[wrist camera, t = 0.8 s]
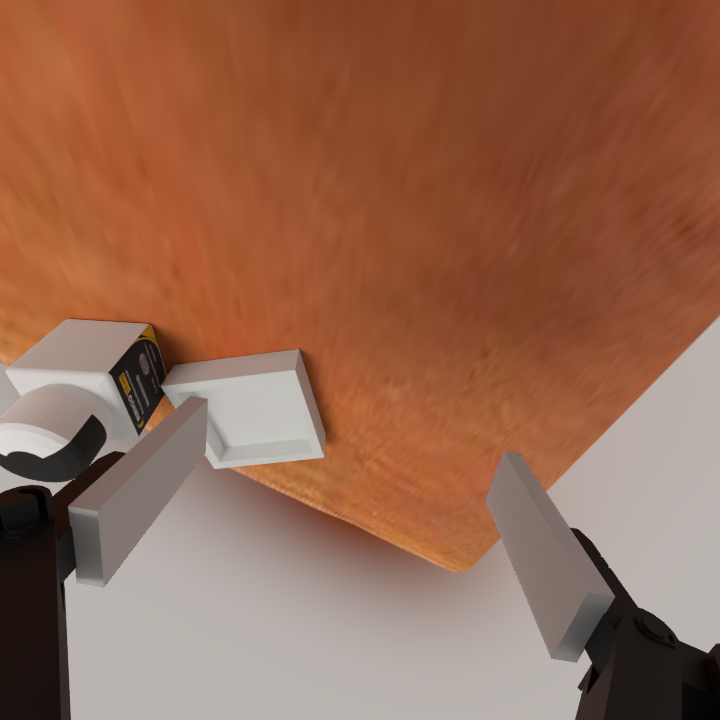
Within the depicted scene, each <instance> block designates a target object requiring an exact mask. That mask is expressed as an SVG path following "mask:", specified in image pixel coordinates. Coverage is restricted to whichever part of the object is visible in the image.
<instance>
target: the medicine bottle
mask: <svg viewBox="0 0 720 720" xmlns="http://www.w3.org/2000/svg"><path fill="white" fill-rule="evenodd" d="M5 372H6V375H7V376H8V378H9V379H10V380H11V382H12V383H13V385H14V386H15V388H16V389H17V391H18V392H19V394H20V395H21V398H20V399H19V400H18V401H17V402H16V403H15V404H13V405H12V406H11V407H10V408H9V409H8V410H7V411H6V412H5V413H4V414H3V415H2V416H1V417H0V466H2V467H3V468H5V469H6V470H8V471H10V472H12V473H14V474H17V475H19V476H21V477H25V478H28V479H32V480H38V481H43V482H65V481H69V480H72V479H75V478H76V477H77V476H78V475H79V474H80V473H82V472H83V471H85V470H86V468H88V467H89V465H90V464H91V462H92V461H93V460H94V458H95V457H96V455H97V454H98V452H99V451H100V449H101V448H102V446H103V445H104V443H105V442H106V441H107V439H119V440H136V439H137V438H138V437H139V435H140V434H141V432H142V430H143V429H144V427H145V425H146V424H147V422H148V420H149V419H150V417H151V415H152V414H153V412H154V410H155V409H156V407H157V406H158V404H159V402H160V401H161V399H162V397H163V396H164V394H165V392H164V391H163V389H162V388H161V385H162V383H163V382H164V380H165V379H166V377H167V376H168V375H167V372H166V369H165V366H164V363H163V360H162V356H161V353H160V350H159V347H158V344H157V341H156V338H155V335H154V331H153V328H152V326H151V325H150V324H145V323H129V322H113V321H96V320H80V319H66V320H65V321H63V322H62V323H61V324H60V325H59V326H57V327H56V328H55V329H54V330H53V331H51V332H50V333H49V334H48V335H46V336H45V337H44V338H43V339H42V340H40V341H39V342H38V343H37V344H36V345H34V346H33V347H32V348H31V349H30V350H28V351H27V352H26V353H25V354H24V355H22V356H21V357H20V358H19V359H17V360H16V361H15V362H14V363H13V364H11V365H10V366H9V367H8V368H7V369H6V371H5Z"/></svg>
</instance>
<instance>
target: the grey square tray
mask: <svg viewBox="0 0 720 720" xmlns="http://www.w3.org/2000/svg"><path fill="white" fill-rule="evenodd" d="M161 388H162V389H163V391H164V392H165V394H166V396H167V397H168V399H169V400H170V402H171V403H172V405H173V406H174V408H175V409H176V408H177V407H178V406H180V405H181V404H182V403H183V402H184V401H185V400H186V399H187V398H188V397H190V396H194V397H200V398H206V399H208V412H207V437H206V453H205V455H206V457H207V458H208V460H209V461H210V463H211V464H212V466H213V467H214V469H218V468H228V467H237V466H247V465H257V464H267V463H276V462H286V461H296V460H305V459H315V458H324V454H325V442H326V434H325V430H324V427H323V424H322V421H321V417H320V414H319V411H318V408H317V405H316V401H315V398H314V395H313V392H312V388H311V385H310V382H309V379H308V376H307V372H306V369H305V366H304V363H303V359H302V356H301V353H300V350H299V349H295V350H287V351H279V352H272V353H264V354H256V355H248V356H240V357H232V358H225V359H217V360H209V361H201V362H193V363H186V364H178V365H174V366H173V368H172V369H171V371H170V372H169V374H168V376H167V377H166V379H165V380H164V382H163V383H162V385H161Z"/></svg>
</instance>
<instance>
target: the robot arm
mask: <svg viewBox="0 0 720 720" xmlns="http://www.w3.org/2000/svg"><path fill="white" fill-rule="evenodd" d="M207 412H208V399H206V398H200V397H194V396H190V397H188V398H187V399H186V400H185V401H184V402H183V403H182V404H181V405H180V406H178V407H177V408H176V409H175V410H174V411H173V412H172V413H171V414H170V415H168V416H167V417H166V418H165V419H164V420H163V421H162V422H161V423H160V424H158V425H157V426H156V427H155V428H154V429H153V430H152V431H151V432H150V433H149V434H147V435H146V436H145V437H144V438H143V439H142V440H141V441H140V442H139V443H137V444H136V445H135V446H134V447H133V448H132V449H131V450H130V451H129V452H127V453H123V452H116V451H114V452H112V453H109V454H107V455H105V456H103V457H101V458H99V459H97V460H96V461H95V462H94V463H93V464H91V465H90V466H89V467H88V468H86V470H85V471H83V472H82V473H80V474H79V475H78V476H77V477H76V479H75V480H74V479H73V480H72V481H71V482H70V483H68V484H67V485H66V486H65V487H63V488H62V489H61V490H60V491H59V492H57V493H56V494H55V495H54V496H53V497H52V494H51V492H50V490H49V489H48V488H46V487H44V486H38V485H27V486H20V487H16V488H13V489H10V490H6V491H4V492H2V493H0V720H71V714H70V691H69V669H68V649H67V628H66V606H65V587H64V580H65V579H66V578H67V577H68V576H69V575H70V573H71V572H72V571H73V570H74V569H76V578H77V583H81V584H87V585H93V586H100V587H105V585H106V584H107V583H108V581H109V580H110V579H111V578H112V576H113V575H114V573H115V572H116V571H117V569H118V568H119V567H120V566H121V564H122V563H123V562H124V560H125V559H126V558H127V556H128V555H129V554H130V552H131V551H132V550H133V548H134V547H135V546H136V544H137V543H138V542H139V540H140V539H141V538H142V536H143V535H144V534H145V532H146V531H147V530H148V528H149V527H150V526H151V524H152V523H153V522H154V520H155V519H156V518H157V516H158V515H159V514H160V513H161V511H162V510H163V509H164V507H165V506H166V504H167V503H168V502H169V501H170V499H171V498H172V497H173V495H174V494H175V493H176V491H177V490H178V489H179V487H180V486H181V485H182V483H183V482H184V481H185V479H186V478H187V477H188V475H189V474H190V473H191V471H192V470H193V469H194V468H195V466H196V465H197V464H198V462H199V461H200V460H201V458H202V457H203V456H204V454H205V453H206V437H207ZM485 501H486V503H487V505H488V508H489V510H490V513H491V515H492V517H493V520H494V522H495V525H496V527H497V529H498V532H499V534H500V537H501V539H502V541H503V544H504V546H505V549H506V551H507V553H508V556H509V558H510V560H511V563H512V565H513V568H514V570H515V572H516V575H517V577H518V580H519V582H520V584H521V586H522V589H523V592H524V594H525V596H526V598H527V601H528V604H529V606H530V608H531V611H532V613H533V615H534V618H535V620H536V623H537V625H538V627H539V630H540V632H541V635H542V637H543V639H544V642H545V644H546V647H547V649H548V651H549V654H550V656H551V659H558V660H564V661H570V662H577V661H578V659H579V658H580V656H581V654H582V653H583V651H584V649H585V650H586V651H587V654H588V656H589V658H590V660H591V661H592V665H591V666H590V668H589V670H588V671H587V673H586V674H585V676H584V678H583V679H582V681H581V683H580V684H579V686H578V688H579V689H580V690H581V691H582V690H583V691H582V695H581V699H580V703H579V707H578V711H577V715H576V719H575V720H720V644H716V645H715V646H714V647H713V648H712V649H711V651H710V652H709V653H706V652H704V651H701V650H699V649H697V648H694V647H692V646H690V645H687V644H685V643H683V642H681V641H679V640H678V638H677V637H676V635H675V634H674V632H673V631H672V630H671V629H670V628H669V627H668V626H667V625H666V624H665V623H664V622H663V621H661V620H660V619H659V618H657V617H656V616H655V615H653V614H652V613H650V612H648V611H646V610H644V609H641V608H638V607H637V605H636V604H635V602H634V601H633V600H632V598H631V597H630V596H629V594H628V592H627V591H626V590H625V588H624V587H623V585H622V584H621V583H620V581H619V580H618V578H617V577H616V575H615V574H614V573H613V571H612V570H611V569H610V568H609V567H608V564H607V563H606V561H605V560H604V558H603V557H601V554H600V553H599V551H598V550H597V549H596V547H595V546H594V544H593V543H592V542H591V541H590V540H589V539H588V538H587V537H586V536H585V535H584V534H583V533H582V532H581V531H580V530H578V529H575V528H569V526H568V525H567V523H566V522H565V520H564V519H563V517H562V516H561V514H560V513H559V512H558V510H557V508H556V507H555V505H554V503H553V502H552V501H551V499H550V497H549V496H548V495H547V493H546V491H545V490H544V488H543V487H542V485H541V484H540V482H539V481H538V479H537V478H536V476H535V475H534V473H533V472H532V470H531V469H530V467H529V466H528V464H527V463H526V461H525V460H524V458H523V457H522V455H521V454H519V453H513V452H507V451H503V454H502V457H501V460H500V462H499V465H498V468H497V470H496V473H495V476H494V478H493V481H492V484H491V487H490V489H489V492H488V495H487V497H486V500H485Z"/></svg>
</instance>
